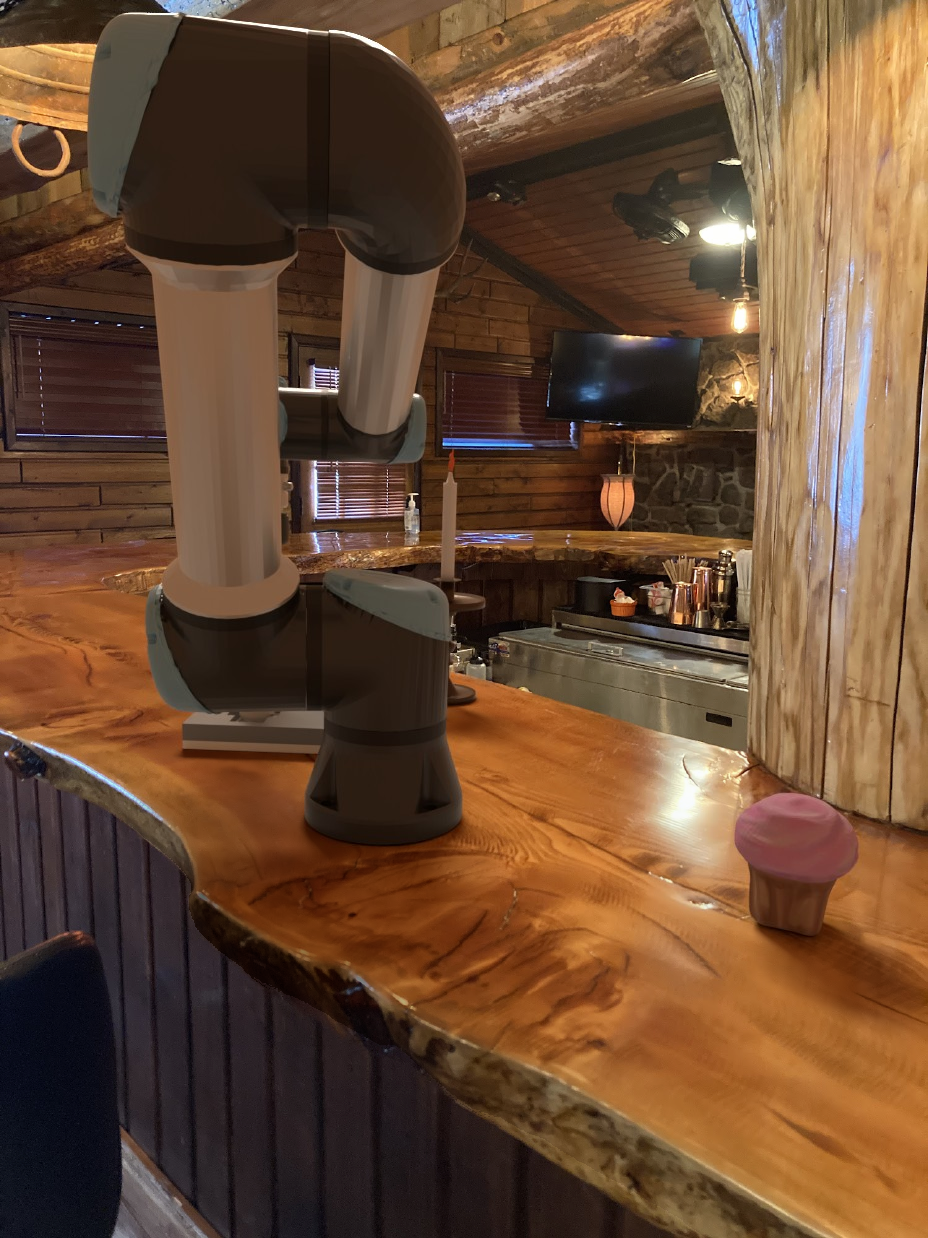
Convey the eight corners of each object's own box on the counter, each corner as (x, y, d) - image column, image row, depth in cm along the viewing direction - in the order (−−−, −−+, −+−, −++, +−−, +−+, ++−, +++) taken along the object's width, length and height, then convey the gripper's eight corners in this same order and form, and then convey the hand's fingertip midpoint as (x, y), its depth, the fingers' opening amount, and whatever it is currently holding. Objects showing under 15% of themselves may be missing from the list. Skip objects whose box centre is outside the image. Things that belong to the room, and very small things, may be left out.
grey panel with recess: (408, 757, 106) (409, 689, 104) (182, 748, 106) (181, 681, 105) (416, 722, 120) (418, 662, 118) (217, 714, 120) (216, 654, 119)
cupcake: (719, 933, 69) (730, 805, 67) (735, 885, 77) (745, 770, 75) (847, 962, 65) (863, 829, 63) (851, 909, 73) (864, 789, 71)
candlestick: (428, 684, 139) (434, 448, 133) (494, 694, 135) (503, 450, 129) (392, 700, 130) (396, 447, 124) (461, 711, 125) (469, 449, 119)
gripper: (263, 517, 96) (264, 715, 99) (307, 506, 120) (307, 665, 124) (191, 515, 96) (194, 712, 99) (250, 504, 120) (251, 663, 124)
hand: (257, 686), depth 112 cm, fingers open, 13 cm apart
